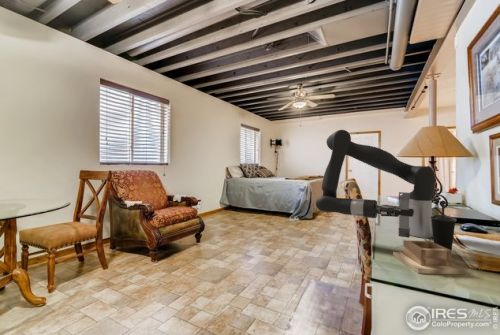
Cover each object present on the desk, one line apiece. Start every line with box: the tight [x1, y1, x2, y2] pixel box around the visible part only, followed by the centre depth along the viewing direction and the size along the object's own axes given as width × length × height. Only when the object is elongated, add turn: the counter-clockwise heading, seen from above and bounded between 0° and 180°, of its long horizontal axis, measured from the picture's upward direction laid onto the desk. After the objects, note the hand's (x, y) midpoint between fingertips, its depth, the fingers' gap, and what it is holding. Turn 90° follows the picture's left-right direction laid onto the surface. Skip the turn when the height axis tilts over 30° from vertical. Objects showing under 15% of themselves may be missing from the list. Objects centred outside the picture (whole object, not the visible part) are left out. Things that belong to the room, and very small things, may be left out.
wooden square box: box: [392, 240, 466, 275], centre depth 80 cm, size 14×14×6 cm
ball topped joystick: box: [398, 191, 411, 239], centre depth 91 cm, size 4×3×17 cm
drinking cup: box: [430, 200, 457, 253], centre depth 89 cm, size 8×8×20 cm
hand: (413, 212), depth 89 cm, fingers closed on ball topped joystick, 3 cm apart
